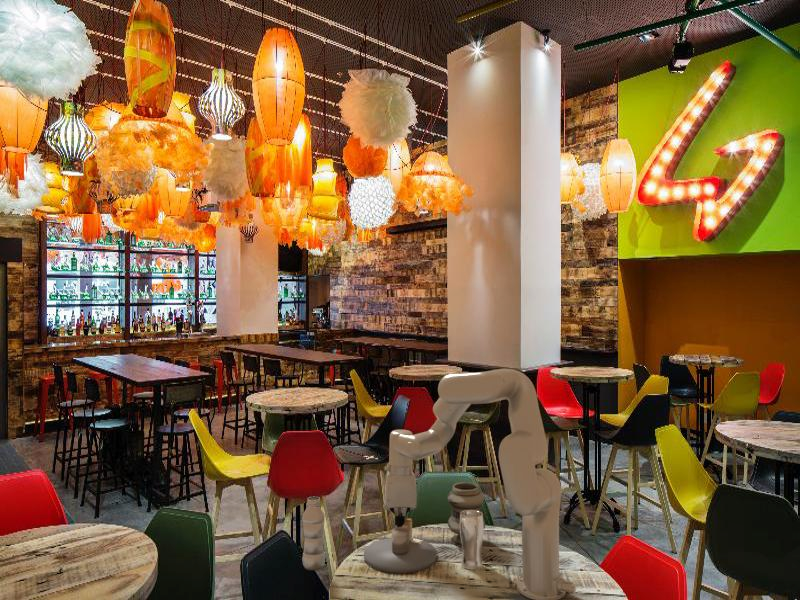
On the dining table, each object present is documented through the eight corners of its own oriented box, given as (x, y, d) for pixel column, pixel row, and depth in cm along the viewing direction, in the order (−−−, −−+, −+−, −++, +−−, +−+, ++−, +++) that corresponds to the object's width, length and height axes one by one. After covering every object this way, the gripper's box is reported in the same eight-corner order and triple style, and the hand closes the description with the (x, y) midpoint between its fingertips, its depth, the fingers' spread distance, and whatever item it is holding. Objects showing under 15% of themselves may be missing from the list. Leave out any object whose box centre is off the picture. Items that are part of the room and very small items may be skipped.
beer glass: (483, 571, 160) (482, 518, 161) (458, 569, 161) (458, 516, 162) (484, 561, 167) (484, 510, 167) (461, 559, 168) (460, 508, 169)
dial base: (449, 551, 174) (449, 546, 174) (412, 579, 155) (412, 573, 155) (390, 537, 186) (390, 532, 186) (349, 561, 167) (349, 555, 167)
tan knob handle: (405, 555, 167) (405, 533, 167) (389, 552, 169) (389, 531, 169) (417, 539, 179) (417, 519, 179) (402, 537, 181) (402, 517, 181)
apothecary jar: (440, 543, 180) (440, 486, 181) (459, 531, 190) (459, 478, 191) (474, 552, 173) (473, 493, 174) (491, 539, 183) (491, 484, 184)
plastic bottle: (313, 575, 158) (313, 503, 159) (297, 569, 162) (297, 499, 163) (330, 567, 163) (329, 497, 164) (313, 561, 167) (313, 493, 168)
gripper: (378, 473, 174) (377, 532, 174) (425, 472, 177) (424, 531, 176) (376, 466, 182) (375, 523, 182) (421, 465, 184) (420, 522, 184)
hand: (399, 527), depth 179 cm, fingers closed
